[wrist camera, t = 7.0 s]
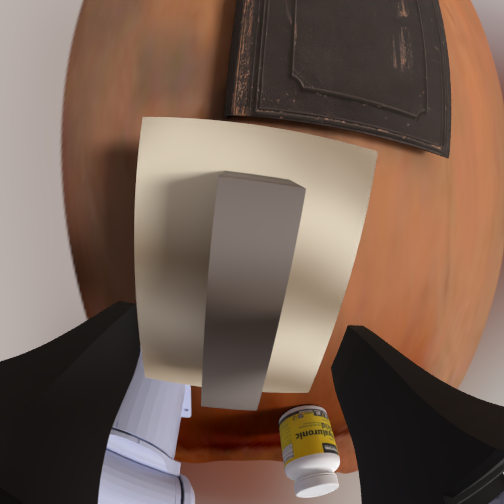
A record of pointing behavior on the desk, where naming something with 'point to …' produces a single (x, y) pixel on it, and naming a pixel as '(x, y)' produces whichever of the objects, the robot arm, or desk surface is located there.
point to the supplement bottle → (309, 450)
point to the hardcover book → (344, 67)
